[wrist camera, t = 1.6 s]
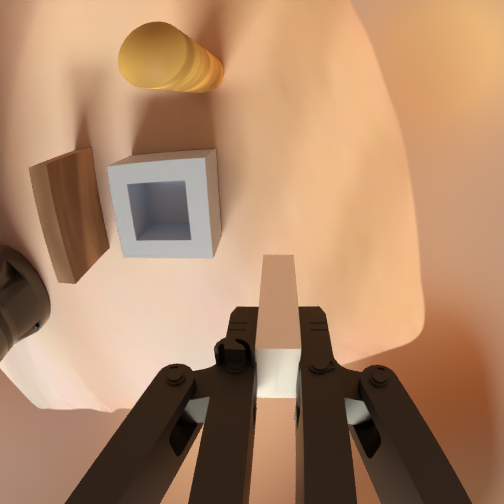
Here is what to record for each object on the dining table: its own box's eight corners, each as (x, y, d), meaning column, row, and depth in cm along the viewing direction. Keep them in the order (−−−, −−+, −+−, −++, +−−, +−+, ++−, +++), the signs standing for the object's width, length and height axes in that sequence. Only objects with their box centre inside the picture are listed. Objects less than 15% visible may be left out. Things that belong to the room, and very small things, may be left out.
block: (142, 236, 33) (123, 257, 28) (130, 155, 29) (106, 166, 24) (221, 235, 32) (213, 258, 28) (215, 148, 28) (204, 157, 24)
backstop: (93, 247, 34) (58, 282, 27) (74, 150, 29) (28, 167, 22) (109, 247, 34) (75, 283, 27) (91, 147, 29) (46, 163, 22)
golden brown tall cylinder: (182, 95, 26) (119, 93, 15) (181, 56, 24) (118, 30, 13) (224, 91, 26) (186, 82, 14) (223, 51, 24) (185, 16, 12)
